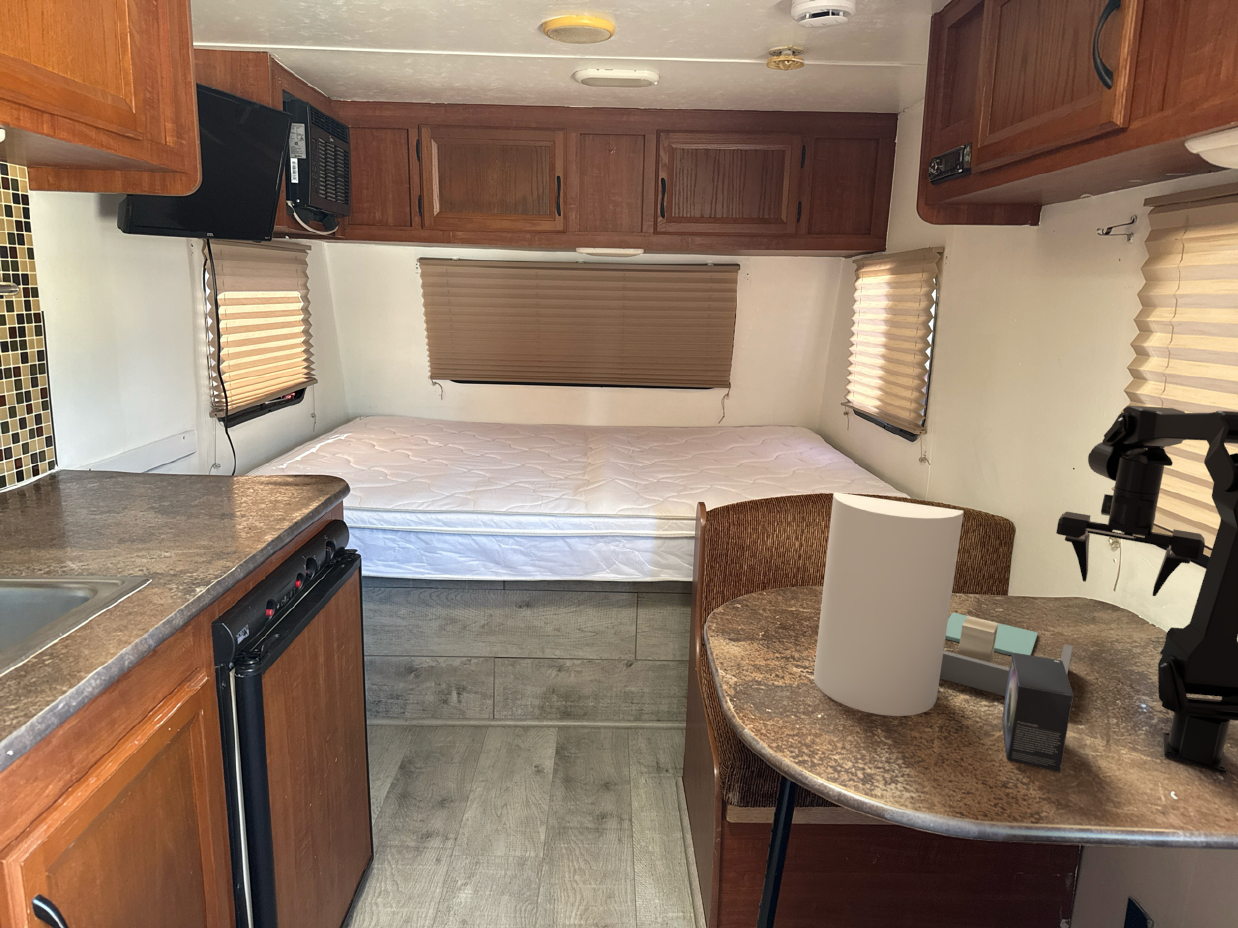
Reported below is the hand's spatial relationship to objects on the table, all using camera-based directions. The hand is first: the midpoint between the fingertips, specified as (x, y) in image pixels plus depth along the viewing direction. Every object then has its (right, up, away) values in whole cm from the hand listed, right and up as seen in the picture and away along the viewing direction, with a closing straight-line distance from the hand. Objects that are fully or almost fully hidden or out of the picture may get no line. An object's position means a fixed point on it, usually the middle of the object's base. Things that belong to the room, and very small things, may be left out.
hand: (1118, 587), depth 124 cm
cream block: (-21, -13, +2) cm, 25 cm away
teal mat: (-14, -10, +14) cm, 22 cm away
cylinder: (-40, -14, -6) cm, 42 cm away
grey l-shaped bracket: (-21, -13, +2) cm, 25 cm away
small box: (-24, -17, -20) cm, 36 cm away
